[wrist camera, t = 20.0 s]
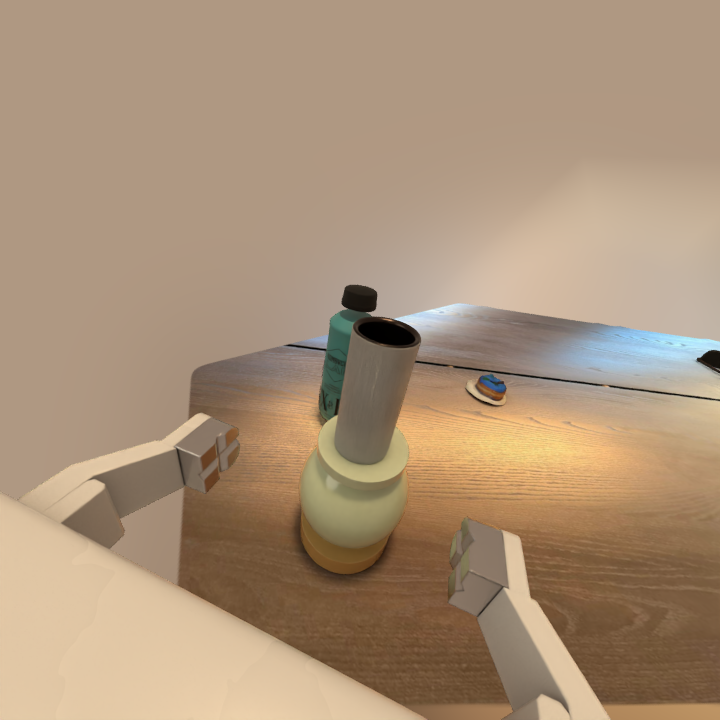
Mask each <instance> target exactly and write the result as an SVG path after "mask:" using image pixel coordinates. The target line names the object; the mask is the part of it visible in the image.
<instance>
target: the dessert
mask: <svg viewBox="0 0 720 720" xmlns="http://www.w3.org/2000/svg"><path fill="white" fill-rule="evenodd" d="M466 389H467V390H468V391H469V392H470V393H472V394H473V395H474V396H475V397H477V398H478V399H481V400H482V401H485V402H489V403H491V404H494V405H504V404H505V403H506V395H505V392H506V389H507V388H506V386H505V384H504V381H500V380H499V379H497V378H495V377H494V376H493V374H490V375H485V376H481V377H480V378H479V380H476V379H474V380H469V381H468V382H467V386H466Z"/></svg>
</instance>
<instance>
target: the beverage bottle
mask: <svg viewBox="0 0 720 720" xmlns="http://www.w3.org/2000/svg"><path fill="white" fill-rule="evenodd" d="M376 301H377V292H376V291H375V290H374V289H371V288H369V287H366V286H361V285H349V286H346V287H345V290H344V295H343V298H342V305H343V306H344V307H346V308H348V309H347V310H342V311H340V312H339V313H337V314H335V315H334V316H333V317H332V318H331V320H330V329H329V336H328V343H327V349H326V356H325V362H324V365H323V366H324V368H323V369H324V371H323V374H322V375H323V379H322V386H320V390H321V394H319V404H318V405H319V407H318V408H319V410H320V413H321V415H322V416H323V418H325V419H326V420H327V421H329V420H330V419H331V418H333V417H335V416H337V415H338V411H339V405H340V399H341V393H342V387H343V381H344V375H345V369H346V362H347V356H348V350H349V344H350V338H351V332H352V326H353V324H354V323H355V322H356V321H357V320H359V319H361V318H365V317H372V316H371V315H370V314H368V313H366V312H372V311H374V310H375V309H376ZM323 369H322V370H323ZM321 378H322V377H321Z"/></svg>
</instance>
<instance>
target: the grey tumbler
mask: <svg viewBox="0 0 720 720" xmlns="http://www.w3.org/2000/svg"><path fill="white" fill-rule="evenodd" d="M420 343H421V337H420V334H419V333H418V332H417V331H416V330H415V329H414V328H412V327H411V326H409V325H407V324H405V323H403V322H400V321H397V320H394V319H390V318H385V317H365V318H361V319H359V320H357V321H356V322H355V323H354V324H353V326H352V332H351V338H350V344H349V350H348V356H347V362H346V369H345V375H344V381H343V387H342V393H341V399H340V405H339V411H338V417H337V424H336V430H335V438H334V442H335V446H336V449H337V450H338V452H339V453H340V454H341V455H342V456H343V457H344V458H346V459H347V460H349V461H351V462H354V463H358V464H373V463H376V462H378V461H380V460H382V459H383V458H384V457H385V455H386V454H387V452H388V449H389V446H390V443H391V440H392V436H393V433H394V430H395V426H396V423H397V420H398V416H399V413H400V410H401V406H402V403H403V400H404V396H405V393H406V390H407V386H408V383H409V380H410V376H411V373H412V370H413V366H414V363H415V360H416V356H417V353H418V350H419V346H420Z"/></svg>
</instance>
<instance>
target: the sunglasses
mask: <svg viewBox="0 0 720 720" xmlns="http://www.w3.org/2000/svg"><path fill="white" fill-rule="evenodd" d="M697 361H699V362H700V363H702V364H704V365H705V366H707V367H709V368H711V369H712V370H714V371H716V372H718V373H720V371H719V370H717V369H716V368H720V351H717V350H711V351H708V352H706V353H705V354H704V355H703V356H702V357H701V358H697ZM712 366H713V367H712ZM714 367H716V368H714Z"/></svg>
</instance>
